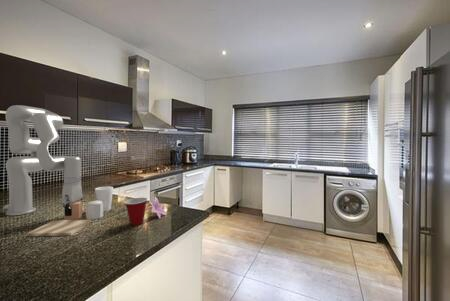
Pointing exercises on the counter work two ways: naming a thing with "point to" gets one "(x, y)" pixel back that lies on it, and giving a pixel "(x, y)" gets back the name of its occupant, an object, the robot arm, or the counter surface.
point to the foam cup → (104, 196)
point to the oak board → (59, 228)
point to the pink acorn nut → (75, 211)
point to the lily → (157, 207)
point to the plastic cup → (136, 210)
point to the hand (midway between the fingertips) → (73, 212)
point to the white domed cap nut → (94, 210)
